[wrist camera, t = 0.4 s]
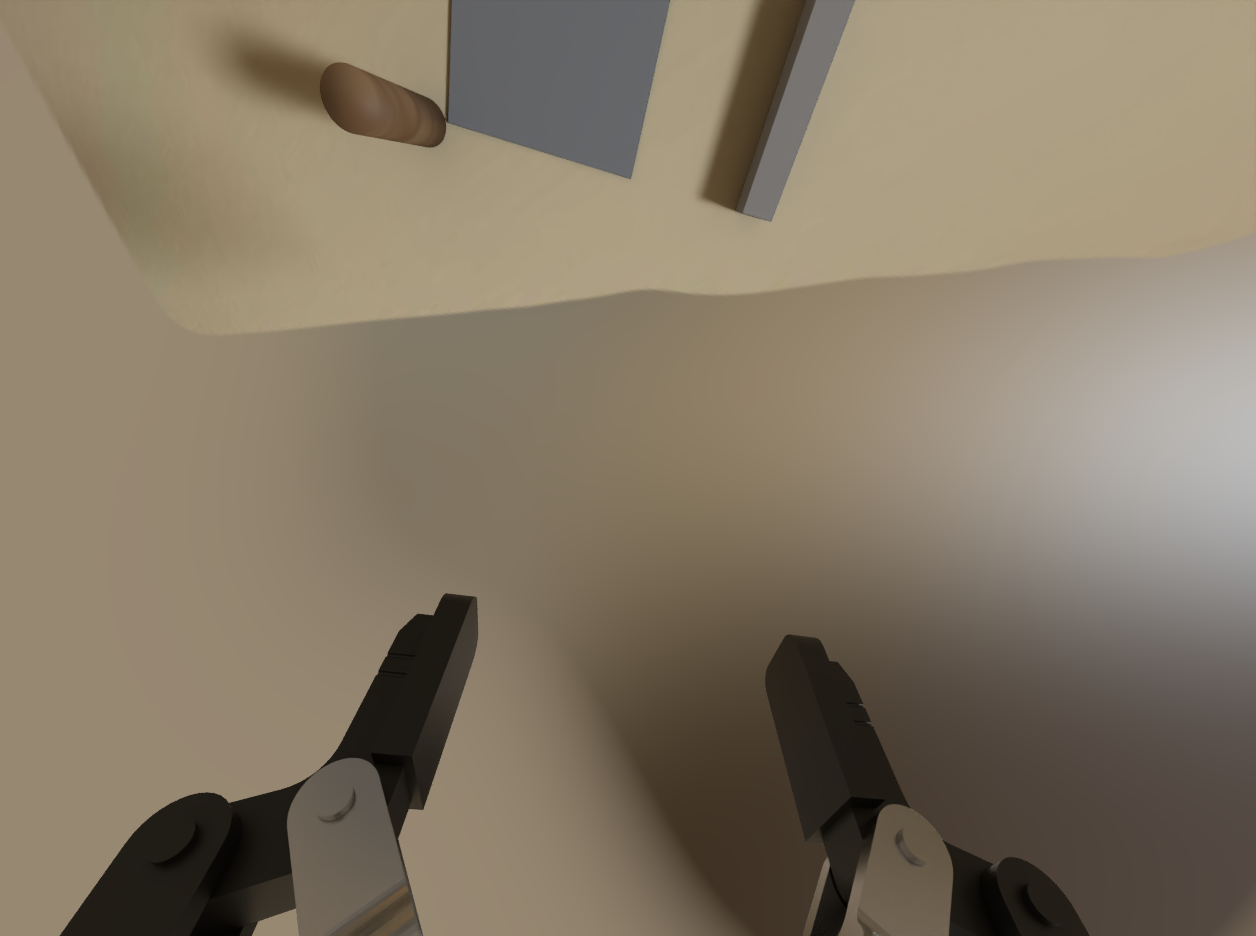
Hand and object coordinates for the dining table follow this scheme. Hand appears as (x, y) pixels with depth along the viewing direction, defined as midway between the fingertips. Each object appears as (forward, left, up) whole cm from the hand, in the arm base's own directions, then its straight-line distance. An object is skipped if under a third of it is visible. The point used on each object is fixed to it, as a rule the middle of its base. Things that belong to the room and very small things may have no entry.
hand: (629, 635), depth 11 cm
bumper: (-16, +6, -28) cm, 33 cm away
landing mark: (-16, -9, -28) cm, 34 cm away
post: (-9, -16, -28) cm, 34 cm away
